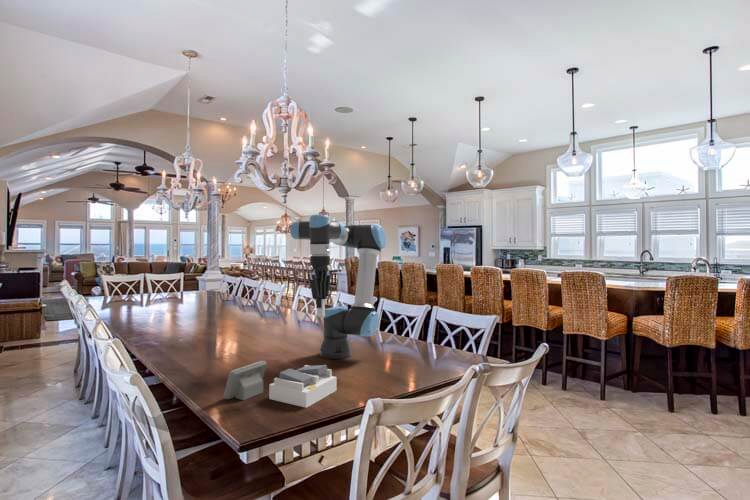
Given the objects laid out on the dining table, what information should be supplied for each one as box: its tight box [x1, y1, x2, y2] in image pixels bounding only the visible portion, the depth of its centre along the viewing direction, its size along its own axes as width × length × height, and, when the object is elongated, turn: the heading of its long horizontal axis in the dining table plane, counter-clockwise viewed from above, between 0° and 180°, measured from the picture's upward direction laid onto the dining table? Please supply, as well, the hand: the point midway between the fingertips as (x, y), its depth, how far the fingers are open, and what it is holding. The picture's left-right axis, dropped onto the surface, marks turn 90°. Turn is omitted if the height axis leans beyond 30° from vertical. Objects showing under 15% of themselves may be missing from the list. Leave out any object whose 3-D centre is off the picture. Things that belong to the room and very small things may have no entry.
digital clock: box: [223, 360, 267, 401], centre depth 145 cm, size 16×9×11 cm, turn 137°
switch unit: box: [268, 364, 338, 409], centre depth 145 cm, size 16×18×7 cm
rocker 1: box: [278, 368, 312, 386], centre depth 141 cm, size 10×5×2 cm, turn 62°
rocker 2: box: [295, 364, 328, 375], centre depth 149 cm, size 10×5×2 cm, turn 62°
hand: (321, 315), depth 157 cm, fingers closed
